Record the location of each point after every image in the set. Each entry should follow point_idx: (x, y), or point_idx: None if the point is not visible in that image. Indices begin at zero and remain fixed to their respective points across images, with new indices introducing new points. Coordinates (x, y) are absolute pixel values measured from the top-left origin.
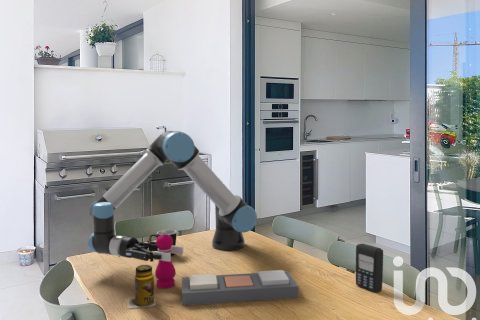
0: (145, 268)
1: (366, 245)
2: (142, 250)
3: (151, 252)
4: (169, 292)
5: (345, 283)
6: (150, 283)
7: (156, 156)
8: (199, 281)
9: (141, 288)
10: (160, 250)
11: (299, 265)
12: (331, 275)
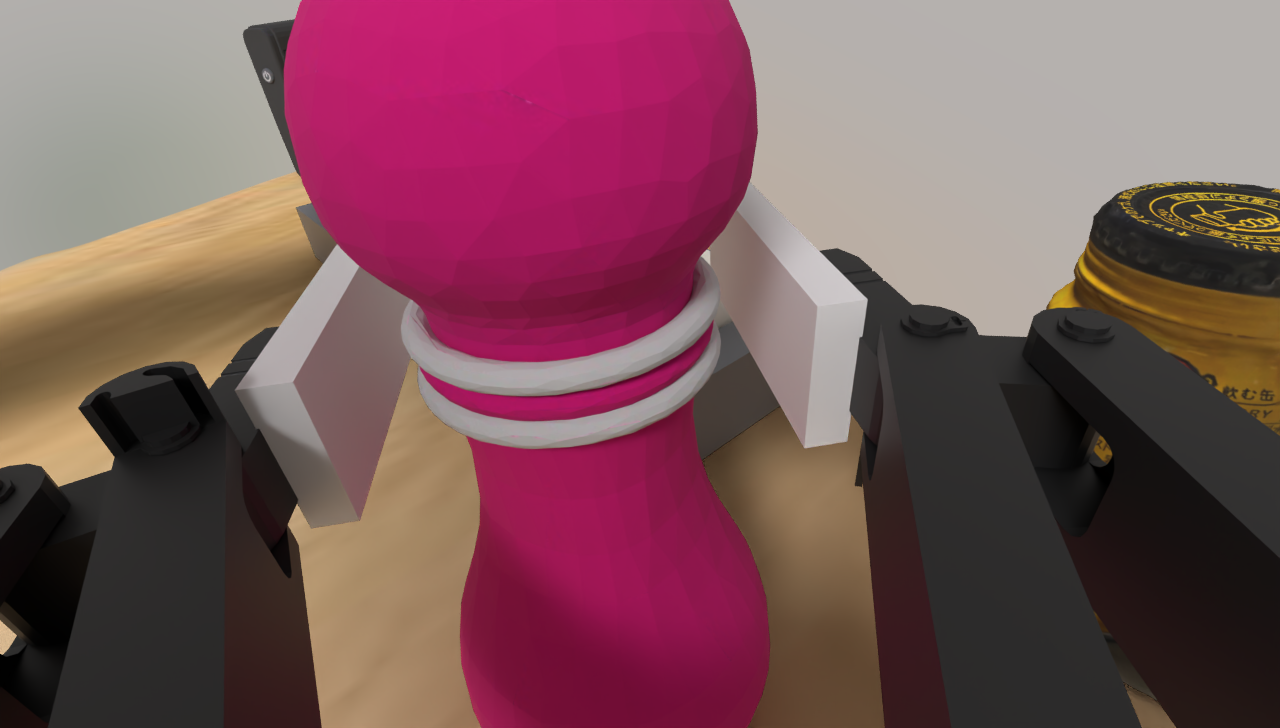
0: (1216, 200)
1: (275, 22)
2: (1103, 690)
3: (931, 312)
4: (753, 548)
5: (303, 192)
6: None
7: None
8: None
9: None
10: (712, 270)
11: (55, 297)
12: (219, 221)
